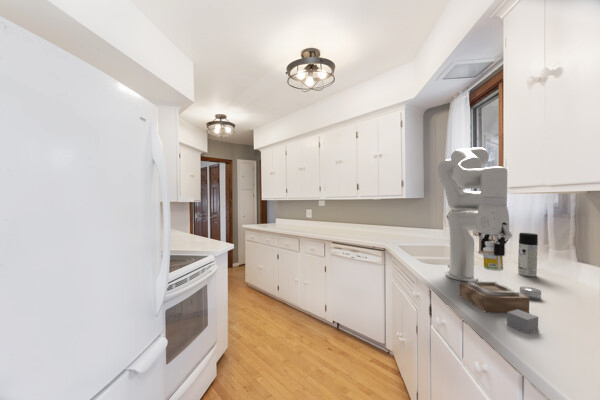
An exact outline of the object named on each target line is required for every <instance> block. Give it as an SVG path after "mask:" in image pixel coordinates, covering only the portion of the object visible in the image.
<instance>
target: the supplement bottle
mask: <svg viewBox="0 0 600 400" xmlns="http://www.w3.org/2000/svg"><path fill="white" fill-rule="evenodd" d="M494 244H496V242H495V240H494V241H493V240H492V241H491V240H490V241H485V245H486V247H485V248H483V251H482V254H483V255H482V257H483V268H484V270H487V271H493V272H494V271H497V272H500V271H503V270H504V259H503V257H504V256H495V255H494Z"/></svg>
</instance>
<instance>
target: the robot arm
mask: <svg viewBox="0 0 600 400" xmlns="http://www.w3.org/2000/svg"><path fill="white" fill-rule="evenodd" d="M489 158H490V154H489V152H488V150H487V149H486V148H484V147H464V148H463V147H462V148H458V149H456V150H454V151H453V152H452V153H451V155H450V158H449V159H443V160H441V161H439V162H438V165H437V171H436V172H437V176H438V178H439V182H440V183H441V186H443V188H444V193H445V197H446V201H447V205H448V207H449V208H450V209H451V210H452V211H450V212H449V213H448V215H447V216H448V217H447V221H448V227H449V228H448V229H449V264H448V265H447V268H449V270H448V271H446V272H445V276H446V277H447V278H449V279H453V280H456V281H461V282H478V280H479V277H478V275H476V274H475V239H474V237H473V236H472V235H471V234H470V233H469V231H470V232H473V231H476V232H477V233H478V236H479V239H480V251H481V252H483V248H485V247H486V245H485V241H491V237H492V236H494V237H493V238H494V242H496V244H494V255H495V256H502V257H504V256H505V255H506V253H505V252H506V251H505V250H506V249H505V248H506V244H507V242H508V241H509V240H510V239H511V238H512V237H513V234H512V233H511V231H510V216H509V215H510V214H509V209H508V169H507V168H506V167H504V166H490V167H489V166H487V167H485V166H486V165H487V163H488V162H489ZM466 189H469V190H470V189H479V191H478V190H475V191H474V190H471V191H468V190H466Z"/></svg>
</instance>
